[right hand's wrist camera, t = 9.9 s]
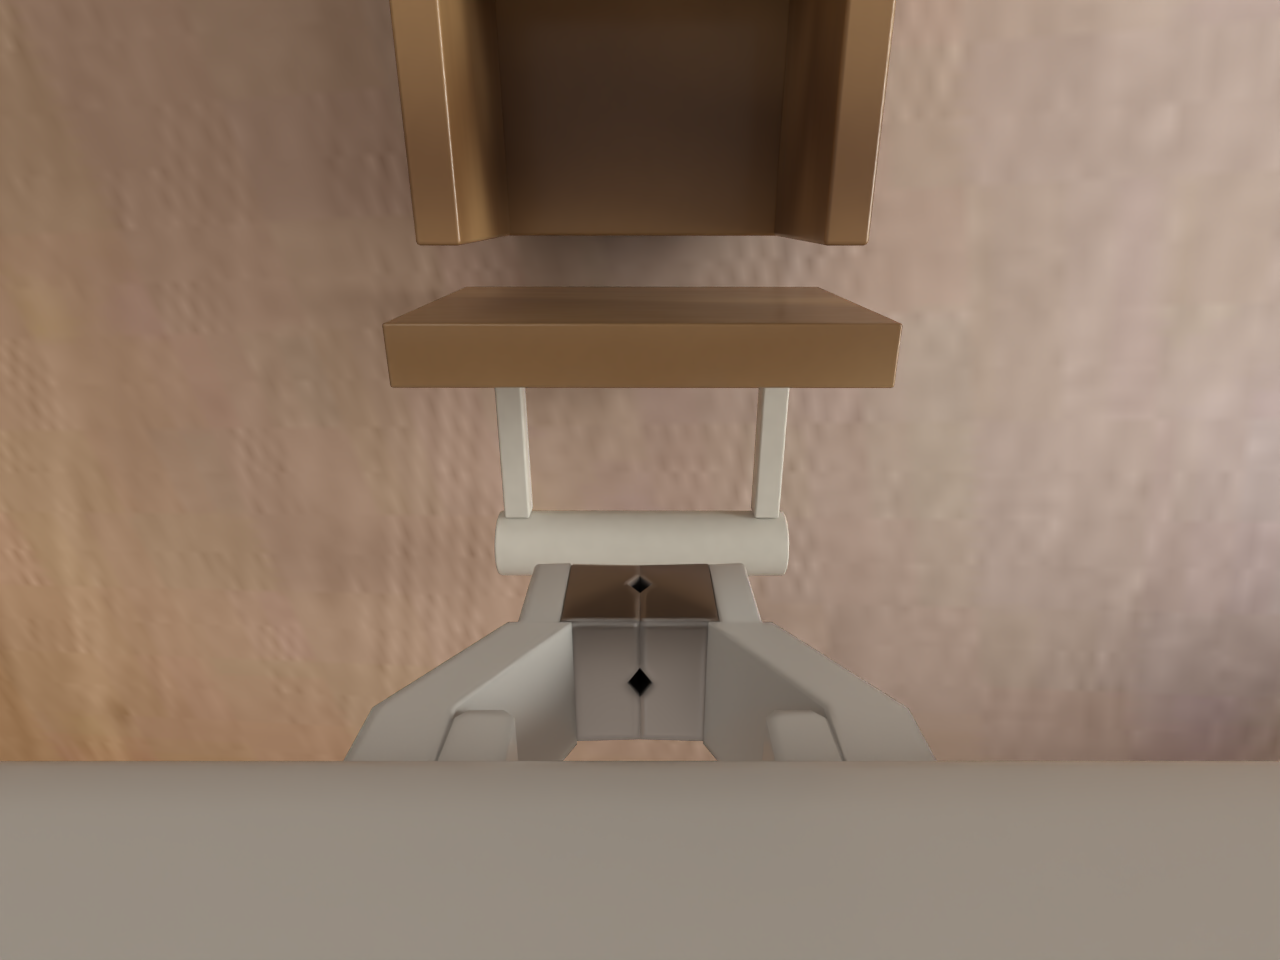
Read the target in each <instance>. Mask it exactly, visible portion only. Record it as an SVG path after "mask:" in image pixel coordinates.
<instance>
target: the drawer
mask: <svg viewBox="0 0 1280 960" xmlns="http://www.w3.org/2000/svg"><path fill="white" fill-rule="evenodd" d="M389 3H390V12H391V21H392V30H393V39H394V48H395V57H396V66H397V75H398V84H399V92H400V101H401V110H402V119H403V128H404V137H405V146H406V155H407V164H408V173H409V181H410V190H411V199H412V208H413V217H414V226H415V235H416V242H417V244H419V245H462V244H467V243H472V242H478V241H483V240H488V239H493V238H498V237H503V236H508V235H577V236H781V237H786V238H791V239H797V240H802V241H807V242H812V243H817V244H823V245H866V244H867V243H868V241H869V232H870V223H871V215H872V206H873V197H874V189H875V180H876V171H877V162H878V154H879V145H880V136H881V128H882V119H883V110H884V102H885V93H886V84H887V76H888V67H889V58H890V49H891V41H892V32H893V23H894V15H895V6H896V0H389ZM382 327H383V334H384V342H385V349H386V357H387V364H388V371H389V379H390V385H391V387H394V388H495V398H496V411H497V424H498V437H499V449H500V462H501V475H502V487H503V500H504V511H501V512H500V514H499V516H498V519H497V523H496V530H495V561H496V567H497V570H498V573H499V574H500V575H532V574H533V571H534V567H535V566H536V565H537V564H555V563H570V564H571V565H573V564H605V565H670V564H708V565H709V564H730V563H742V564H743V565H745V568H746V571H747V575H748V576H782V575H784V574H785V572H786V570H787V566H788V559H789V532H788V525H787V520H786V517H785V514H784V513H783V512H782V511H779V510H780V497H781V485H782V473H783V460H784V448H785V436H786V423H787V411H788V399H789V388H892V387H894V383H895V376H896V369H897V362H898V354H899V347H900V340H901V333H902V324H901V323H898V322H896V321H894V320H892V319H889V318H887V317H885V316H883V315H880V314H878V313H876V312H873V311H871V310H869V309H867V308H864V307H862V306H860V305H857V304H855V303H853V302H851V301H848V300H846V299H844V298H842V297H839V296H837V295H835V294H832V293H830V292H828V291H826V290H823V289H821V288H819V287H465V288H463V289H461V290H458V291H456V292H454V293H451V294H449V295H447V296H445V297H442V298H440V299H438V300H436V301H433V302H431V303H429V304H427V305H424V306H422V307H420V308H417V309H415V310H413V311H411V312H408V313H406V314H404V315H402V316H399V317H397V318H395V319H393V320H390V321H388V322H386V323H383V326H382ZM525 388H759V393H758V408H757V424H756V439H755V454H754V470H753V485H752V501H751V509H752V511H532V508H533V505H532V488H531V472H530V456H529V440H528V424H527V408H526V392H525Z"/></svg>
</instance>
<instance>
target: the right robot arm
mask: <svg viewBox="0 0 1280 960" xmlns="http://www.w3.org/2000/svg"><path fill="white" fill-rule="evenodd" d="M628 739H650V740H687V741H703V744H704V745H705V746H706V747H707V749H708V750H709V751H710V752H711V753H712V755H713V756H714V757H715V758H716V759H717V761H563V760H564V759H565V758H566V756H567V755H568V754H569V753H570V752H571V751H572V749H573V748H574V747H575V746H576V745H577V741H593V740H628ZM0 960H1280V761H936V759H935V757H934V755H933V753H932V751H931V749H930V748H929V746H928V744H927V742H926V740H925V738H924V736H923V735H922V733H921V731H920V729H919V727H918V725H917V723H916V722H915V720H914V718H913V716H912V714H911V712H910V710H909V709H908V708H907V707H905V706H904V705H902V704H901V703H899V702H897V701H896V700H894V699H893V698H891V697H890V696H888V695H886V694H885V693H883V692H882V691H880V690H878V689H877V688H875V687H874V686H872V685H871V684H869V683H867V682H866V681H864V680H863V679H861V678H859V677H858V676H856V675H855V674H853V673H852V672H850V671H848V670H847V669H845V668H844V667H842V666H841V665H839V664H837V663H836V662H834V661H833V660H831V659H829V658H828V657H826V656H825V655H823V654H822V653H820V652H818V651H817V650H815V649H814V648H812V647H810V646H809V645H807V644H806V643H804V642H803V641H801V640H799V639H798V638H796V637H795V636H793V635H792V634H790V633H788V632H787V631H785V630H784V629H782V628H780V627H779V626H777V625H776V624H774V623H773V622H762V621H761V617H760V614H759V611H758V607H757V604H756V601H755V598H754V594H753V591H752V588H751V584H750V581H749V578H748V575H747V571H746V568H745V565H743V564H742V563H730V564H709V565H708V564H670V565H605V564H573V565H571V564H570V563H555V564H537V565H536V566H535V567H534V571H533V574H532V577H531V581H530V584H529V587H528V591H527V594H526V597H525V601H524V604H523V607H522V611H521V614H520V617H519V621H518V622H507V623H506V624H504V625H503V626H501V627H500V628H498V629H496V630H495V631H493V632H492V633H490V634H488V635H487V636H485V637H484V638H482V639H480V640H479V641H477V642H476V643H474V644H473V645H471V646H469V647H468V648H466V649H465V650H463V651H461V652H460V653H458V654H457V655H455V656H453V657H452V658H450V659H449V660H447V661H446V662H444V663H442V664H441V665H439V666H438V667H436V668H434V669H433V670H431V671H430V672H428V673H426V674H425V675H423V676H422V677H420V678H419V679H417V680H415V681H414V682H412V683H411V684H409V685H407V686H406V687H404V688H403V689H401V690H399V691H398V692H396V693H395V694H393V695H392V696H390V697H388V698H387V699H385V700H384V701H382V702H380V703H379V704H377V705H376V706H374V707H373V708H372V709H371V711H370V713H369V715H368V717H367V719H366V720H365V722H364V724H363V726H362V728H361V730H360V731H359V733H358V735H357V737H356V739H355V740H354V742H353V744H352V746H351V748H350V750H349V751H348V753H347V755H346V757H345V759H344V761H0Z"/></svg>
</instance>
